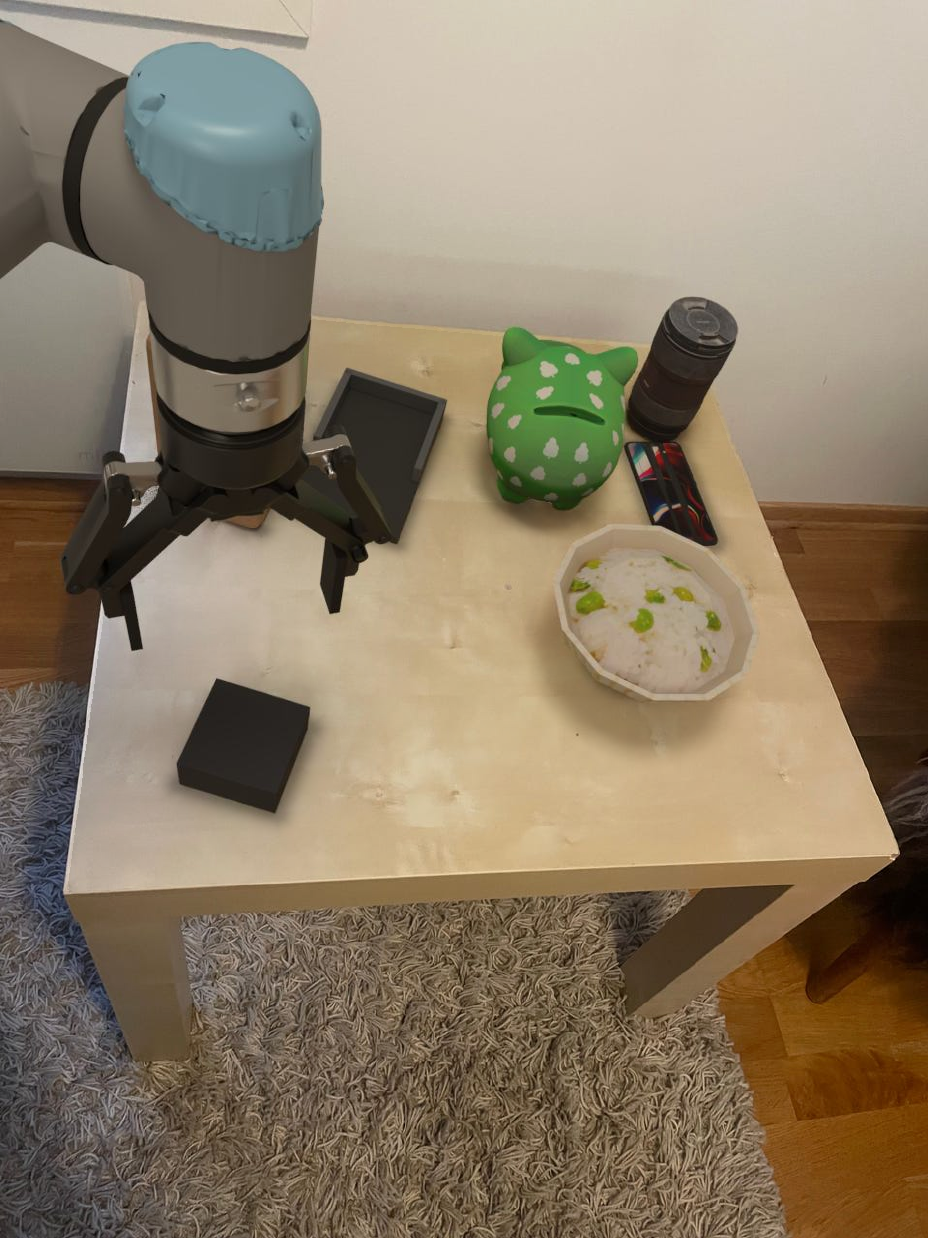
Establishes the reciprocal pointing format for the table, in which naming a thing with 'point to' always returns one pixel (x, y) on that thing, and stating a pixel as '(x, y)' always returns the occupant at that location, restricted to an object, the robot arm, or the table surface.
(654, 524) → the smartphone
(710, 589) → the bowl
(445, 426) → the table surface
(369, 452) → the black tray
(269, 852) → the table surface
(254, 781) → the foam pad
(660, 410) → the camera lens
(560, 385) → the piggy bank
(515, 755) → the table surface
